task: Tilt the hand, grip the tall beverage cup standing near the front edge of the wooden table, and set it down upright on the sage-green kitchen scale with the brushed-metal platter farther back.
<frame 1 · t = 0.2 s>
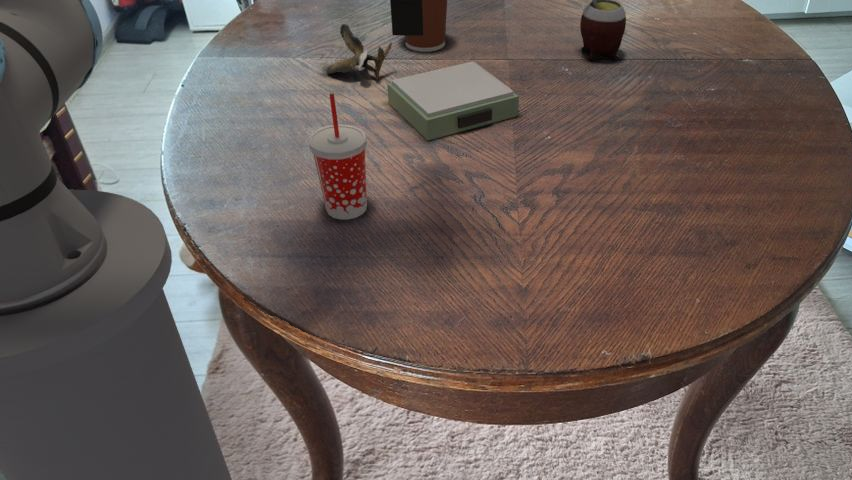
hand: (410, 6, 70), 23 cm above the table, tool pointing down, fingers open, 13 cm apart
coffee cup: (425, 44, 120), on the table
scale: (452, 109, 103), on the table
beverage cup: (346, 209, 84), on the table
mate gourd: (596, 56, 118), on the table
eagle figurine: (357, 74, 111), on the table
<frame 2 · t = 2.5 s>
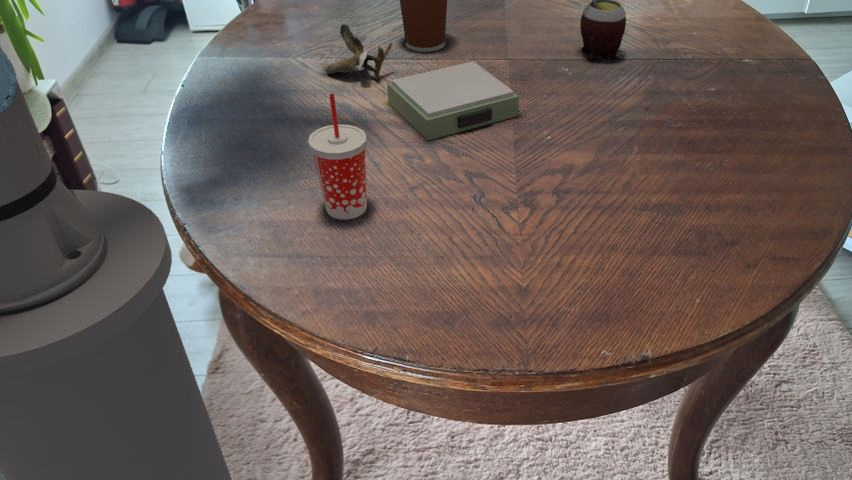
nothing on the table moved.
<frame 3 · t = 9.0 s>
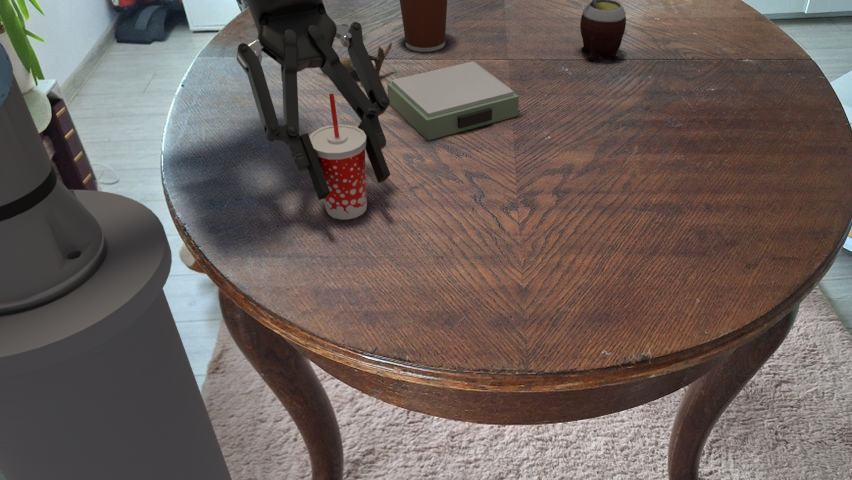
hand: (354, 187, 79), 5 cm above the table, tool tilted 45°, fingers closed on beverage cup, 6 cm apart
beverage cup: (346, 209, 84), on the table, touching gripper
everything else where it was.
when the fingers open (8 cm above the table, at t = 18.0 s): beverage cup stays where it is, resting on scale.
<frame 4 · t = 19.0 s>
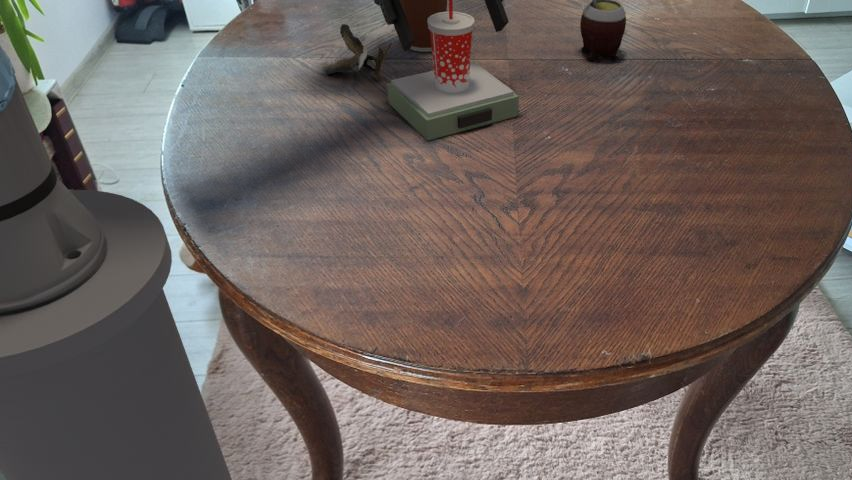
hand: (457, 36, 94), 11 cm above the table, tool tilted 45°, fingers open, 13 cm apart
beverage cup: (452, 86, 101), point 3 cm above the table, touching scale
everything else where it was.
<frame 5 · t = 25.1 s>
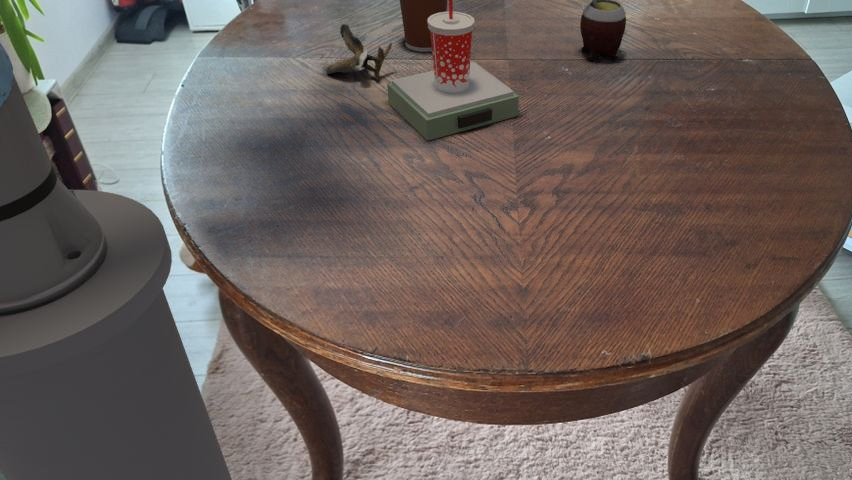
nothing on the table moved.
at the end: beverage cup inside the target area on the scale (0.0 cm from its centre), point 3.4 cm above the scale's base; beverage cup tilted 0°; the gripper is holding nothing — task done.
